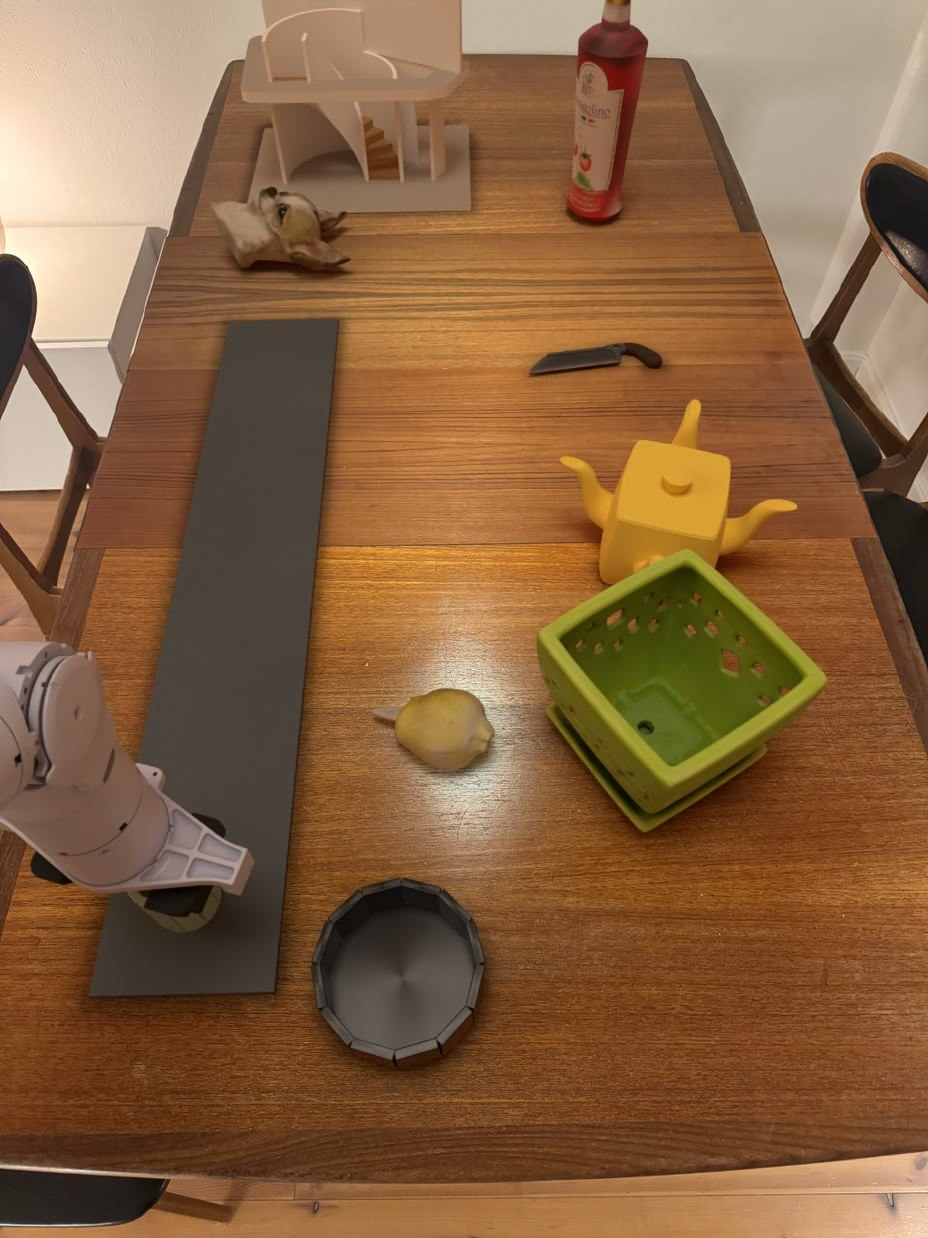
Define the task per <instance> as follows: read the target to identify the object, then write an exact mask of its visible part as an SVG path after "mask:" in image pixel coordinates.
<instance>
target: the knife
mask: <svg viewBox="0 0 928 1238" xmlns="http://www.w3.org/2000/svg"><path fill="white" fill-rule="evenodd" d="M623 353H624V354H630V355H635V356H636V357H637V358H639V359H640V360H641V361H642V362H643V363H645V364H646V365H647V366H649V367H651V368H652V367H653V368H658V367H659V366H661V365H663V358H662V356H661V355H660V354H659V353H657V352H656V351H654V350H652V349H651V348H649V347H647V346H645V345H643V344H640V343H636V342H621V343H620V342H617V343H616V342H615V343H611V344H606V345H603V346H602V345H601V346H595V347H587V348H581V349H580V348H579V349H570V350H562V351H556V352H555V351H554V352H549V353H547V354H546V355H545V356H543V357H541V358H540V359H538V361H537V362H536V363H535V364H534V365H532V366H531V368H530V369H529V371H528V374H529V375H530V374H537V373H544V372H545V373H546V372H552V371H561V370H568V369H577V368H585V367H592V366H599V365H609V364H615V363H616V364H617V363H620V362H621V361H622V354H623Z"/></svg>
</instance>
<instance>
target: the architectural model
mask: <svg viewBox="0 0 928 1238" xmlns="http://www.w3.org/2000/svg"><path fill="white" fill-rule="evenodd" d="M260 1H261V6H262V7H261V8H262V12H263V18H264V23H265V31H264V32H263V35H256V36H253V37H251V38H250V39H249V40H248V43H247V47H246V53H245V58H244V64H243V69H242V74H241V81H240V85H239V90H240V93H241V99H242V100H243V102H246V103H249V104H268V108H269V114H270V118H271V119H270V120H271V125H272V127H264V128H263V129H264V130H263V134H262V138H261V142H260V147H259V151H258V154H257V159H256V164H255V168H254V171H253V177H252V181H251V185H250V190H249V192H248V193H249V194H248V198H247V203H246V204H250V203H251V202H252V200H253V199H254V196H255V195H256V193H258V192H260V191H261V190H262V189H265V188H269V187H275V188H276V189H277V191H278V193H279V192H286V191H287V192H289V193H299V194H301V195H303V196H305V197H306V198H307V199H308V200H310V201H311V202H312V203H313V204H314V205H315V207H316V208H318V209H319V210H324V211H327V212H329V213H337V212H342V211H345V212H347V214H360V213H361V214H362V213H365V214H367V213H368V214H369V213H420V212H422V213H424V212H425V213H426V212H427V213H428V212H471V211H472V198H471V197H472V195H471V194H472V193H471V191H472V189H471V157H470V153H471V152H470V125H469V124H445V110H444V108H445V106H444V98H446V97H449V96H450V95H451V94H452V93H453V92H454V91H455V90H456V89H458V87H459V86H460V85H462V84H463V83H464V81H466V80H467V79H468V78H469V77H470V62H469V61H468V60H466V59H463V11H462V10H463V9H462V8H463V7H462V5H463V3H462V2H463V1H462V0H260ZM417 101H419V102H420V101H427V108H428V124H423V125H420V124H419V125H418V120H417V118H418V117H417V104H416V103H417Z"/></svg>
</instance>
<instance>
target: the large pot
mask: <svg viewBox="0 0 928 1238" xmlns="http://www.w3.org/2000/svg"><path fill="white" fill-rule="evenodd" d="M310 963H311V965H310V971H311V977H312V985H313V990H314V991H313V992H314V996H315V1003H316V1009H317V1010H318V1012H319V1015H320V1017H322V1019H323V1020H324V1022H325V1023H326V1024H327V1025H328V1026H329V1028H330V1029H331V1030H332V1031H333V1033H334V1034H335V1035H336V1036H337V1038H339V1040H340V1041H341V1042H342V1043H343V1044H344V1046H345V1047H346V1048H347V1049H348V1051H350V1053H351V1054H352V1055H353V1057H356V1058H357V1059H358V1060H361V1061H364V1062H367V1063H370V1064H372V1065H376V1066H377V1067H382V1068H386V1069H387V1068H388V1069H391V1070H395V1071H398V1070H400V1071H404V1070H407V1069H411V1068H417V1067H421V1066H424V1065H427V1064H429V1063H432V1062H433V1061H438V1060H440V1059H441V1058H442V1057H445V1056H446V1055H447V1054H448V1053H449V1051H451V1050H452V1049H453V1048H454V1047H455V1046H457V1044H458V1043H460V1041H462V1039H463V1038H464V1036H465V1035H466V1034H467V1032H469V1030H470V1029H471V1028H472V1027H473V1025H474V1022H475V1021H476V1019H477V1014H478V1010H479V1006H480V1003H481V998H482V994H483V990H484V985H485V983H486V959H485V955H484V951H483V947H482V943H481V939H480V936H479V932H478V928H477V925H476V922H475V920H473V916H472V915H471V914H470V913H469V912H468V911H467V910H466V909H465V908H464V907H463V906H462V905H461V904H460V903H459V902H458V901H457V900H456V899H455V898H454V897H453V896H452V895H451V894H450V893H449V892H448V891H447V890H446V889H445V888H443V889H442V887H441V886H438V885H435V884H430V883H427V882H423V881H419V880H415V879H412V878H408V877H402V879H401V877H395V878H392V879H388V880H384V881H380V882H377V883H372V884H369V885H364V886H361V888H360V889H357V890H355V891H354V892H353V893H352V894H350V896H349V897H348V898H347V899H346V900H344V902H342V903H341V905H340V906H339V907H337V908H336V909H335V910H334V911H333V912H332V913H331V914H329V916H328V917H327V920H325V921H324V924H323V926H322V930H321V933H320V935H319V938H318V941H317V944H316V946H315V949H314V952H313V955H312V958H311V962H310Z"/></svg>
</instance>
